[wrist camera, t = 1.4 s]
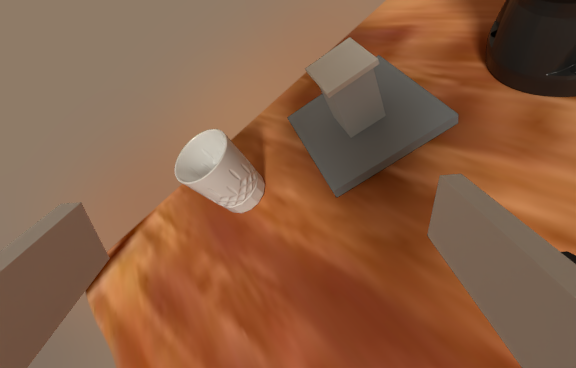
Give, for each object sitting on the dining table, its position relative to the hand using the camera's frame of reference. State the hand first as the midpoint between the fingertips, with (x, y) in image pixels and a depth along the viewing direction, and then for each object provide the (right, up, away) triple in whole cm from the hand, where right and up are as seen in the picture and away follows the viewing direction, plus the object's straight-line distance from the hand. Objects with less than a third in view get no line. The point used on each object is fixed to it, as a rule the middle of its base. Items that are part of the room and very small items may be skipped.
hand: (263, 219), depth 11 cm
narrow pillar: (+11, +10, +27) cm, 31 cm away
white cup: (-5, 0, +31) cm, 31 cm away
